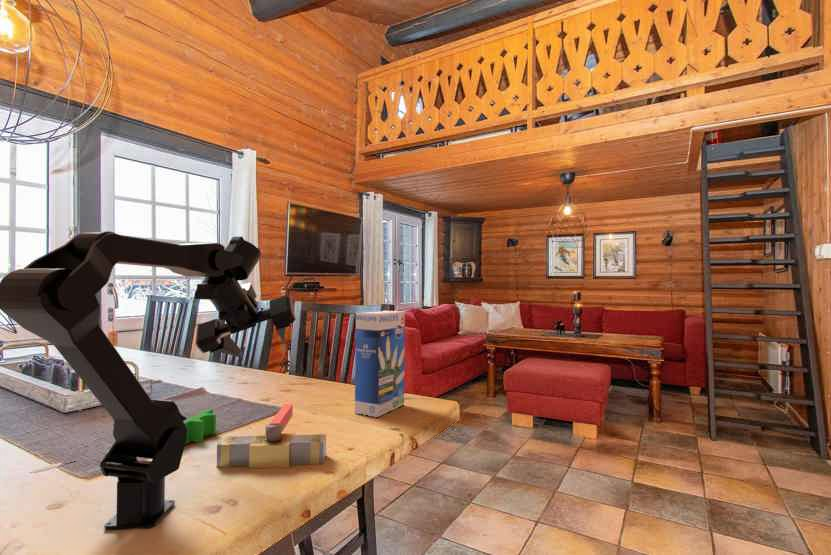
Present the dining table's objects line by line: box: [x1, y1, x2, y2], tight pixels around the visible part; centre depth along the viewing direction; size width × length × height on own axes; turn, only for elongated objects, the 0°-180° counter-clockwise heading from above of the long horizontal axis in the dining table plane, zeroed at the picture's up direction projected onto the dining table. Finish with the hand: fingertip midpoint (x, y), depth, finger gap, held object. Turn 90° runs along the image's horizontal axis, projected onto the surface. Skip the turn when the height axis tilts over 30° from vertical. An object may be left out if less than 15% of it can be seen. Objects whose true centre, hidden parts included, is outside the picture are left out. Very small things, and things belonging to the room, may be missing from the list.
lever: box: [265, 403, 294, 441], centre depth 86 cm, size 14×3×3 cm, turn 5°
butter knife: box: [29, 462, 62, 474], centre depth 85 cm, size 1×27×3 cm
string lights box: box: [354, 310, 406, 418], centre depth 113 cm, size 13×8×26 cm, turn 150°
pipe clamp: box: [183, 408, 217, 445], centre depth 91 cm, size 11×4×5 cm, turn 173°
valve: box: [216, 432, 327, 469], centre depth 80 cm, size 6×19×4 cm, turn 95°
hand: (263, 348), depth 90 cm, fingers open, 9 cm apart
